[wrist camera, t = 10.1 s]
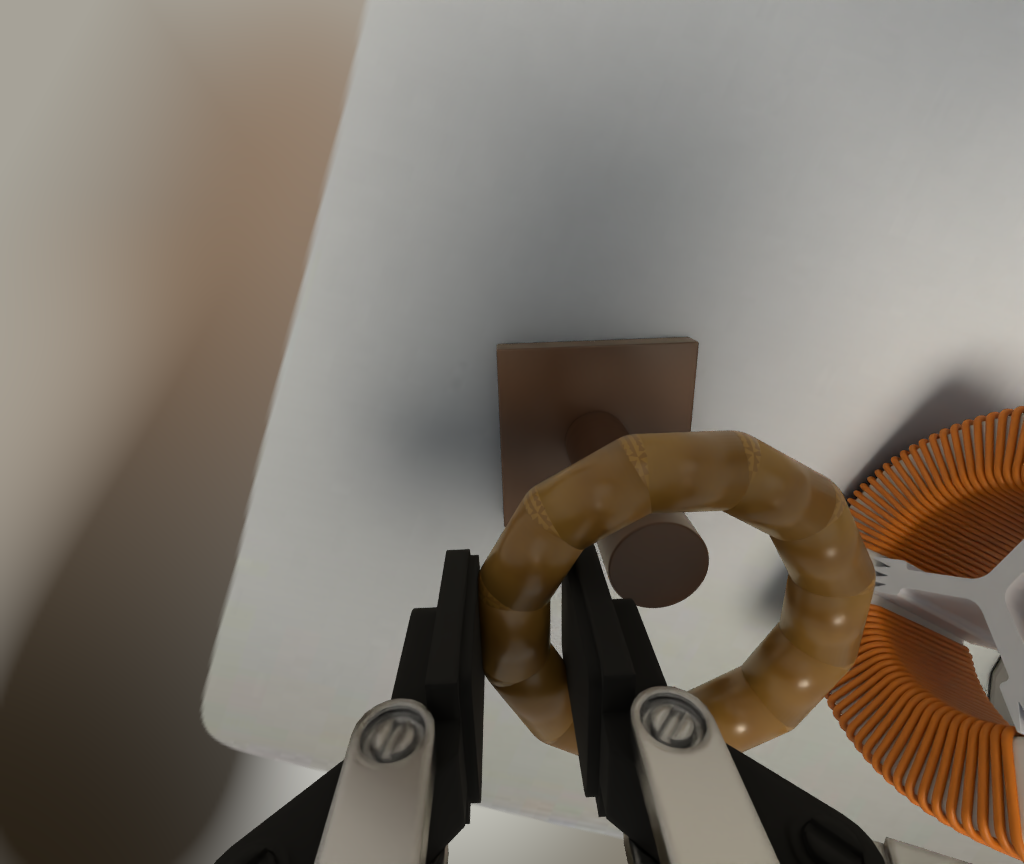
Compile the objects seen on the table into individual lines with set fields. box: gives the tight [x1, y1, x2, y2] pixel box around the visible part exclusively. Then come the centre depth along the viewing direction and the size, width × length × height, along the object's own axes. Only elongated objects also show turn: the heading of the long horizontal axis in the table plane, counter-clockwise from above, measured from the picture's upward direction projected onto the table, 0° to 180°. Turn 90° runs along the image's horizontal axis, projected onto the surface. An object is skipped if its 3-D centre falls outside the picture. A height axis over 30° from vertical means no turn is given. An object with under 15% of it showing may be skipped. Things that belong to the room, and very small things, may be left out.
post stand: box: [497, 337, 709, 608], centre depth 18 cm, size 8×8×10 cm
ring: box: [478, 430, 876, 756], centre depth 12 cm, size 9×9×2 cm
